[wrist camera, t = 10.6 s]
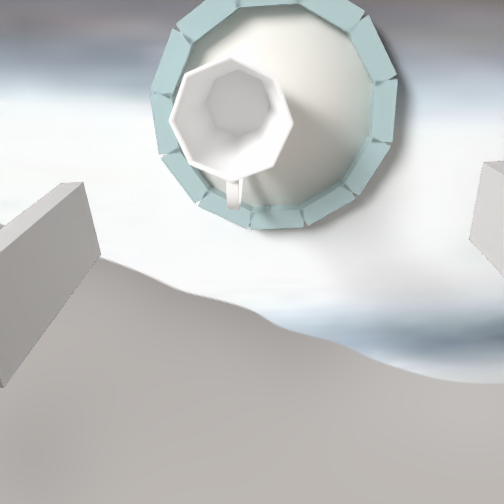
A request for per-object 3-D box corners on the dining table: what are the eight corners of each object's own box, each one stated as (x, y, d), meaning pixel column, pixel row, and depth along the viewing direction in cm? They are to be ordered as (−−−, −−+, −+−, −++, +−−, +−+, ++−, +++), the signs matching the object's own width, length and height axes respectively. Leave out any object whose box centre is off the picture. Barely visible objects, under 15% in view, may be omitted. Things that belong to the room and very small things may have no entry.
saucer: (216, -74, 28) (212, -81, 26) (436, 58, 31) (447, 60, 29) (127, 162, 35) (120, 169, 33) (314, 250, 38) (316, 261, 36)
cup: (290, 48, 30) (298, 54, 23) (283, 188, 34) (287, 230, 27) (188, 46, 30) (163, 52, 23) (194, 186, 35) (175, 227, 27)
